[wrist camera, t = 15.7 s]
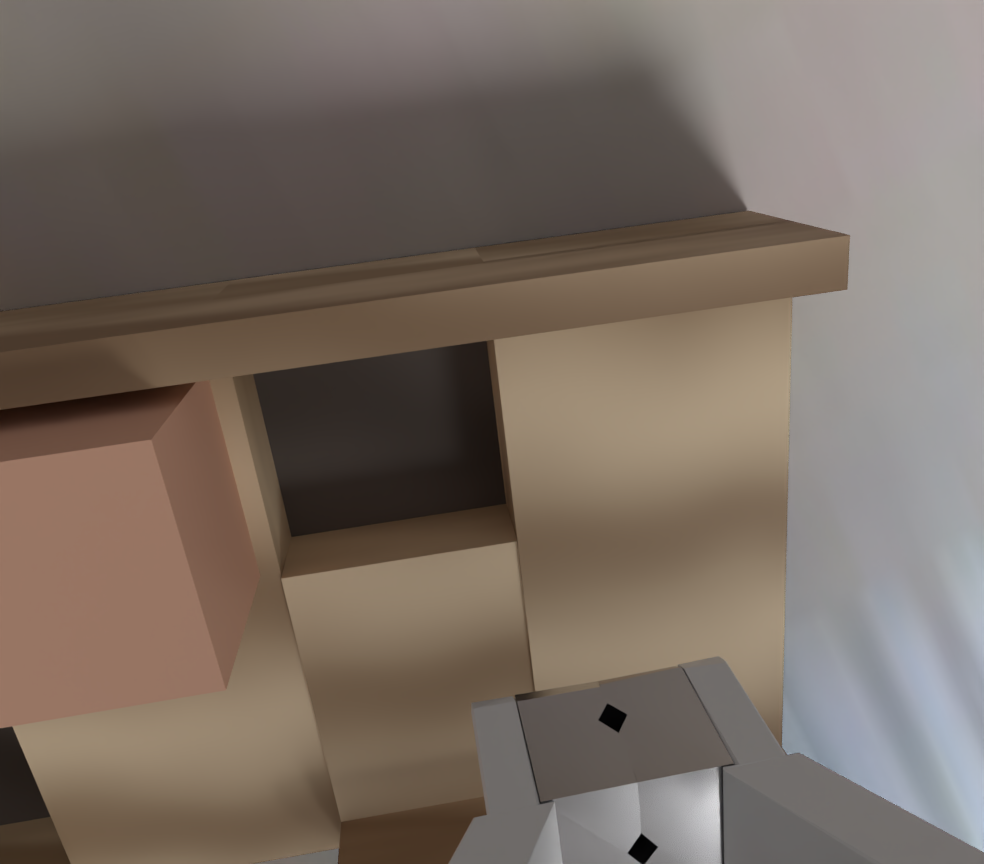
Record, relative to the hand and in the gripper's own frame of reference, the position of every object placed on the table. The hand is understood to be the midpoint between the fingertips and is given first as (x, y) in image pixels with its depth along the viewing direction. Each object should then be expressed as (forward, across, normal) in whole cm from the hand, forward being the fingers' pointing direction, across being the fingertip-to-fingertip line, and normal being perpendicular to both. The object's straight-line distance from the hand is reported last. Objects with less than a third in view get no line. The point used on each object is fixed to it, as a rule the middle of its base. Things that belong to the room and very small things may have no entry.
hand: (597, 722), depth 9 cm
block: (+9, +8, 0) cm, 12 cm away
